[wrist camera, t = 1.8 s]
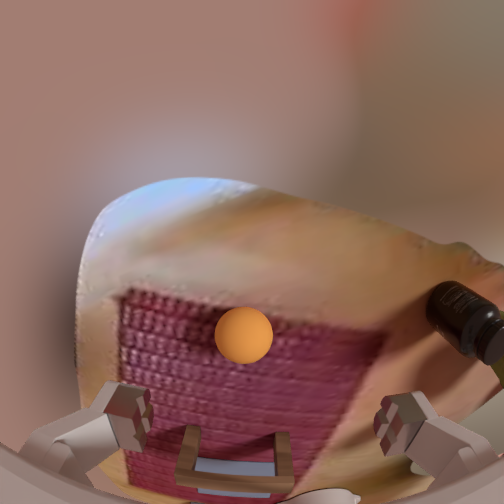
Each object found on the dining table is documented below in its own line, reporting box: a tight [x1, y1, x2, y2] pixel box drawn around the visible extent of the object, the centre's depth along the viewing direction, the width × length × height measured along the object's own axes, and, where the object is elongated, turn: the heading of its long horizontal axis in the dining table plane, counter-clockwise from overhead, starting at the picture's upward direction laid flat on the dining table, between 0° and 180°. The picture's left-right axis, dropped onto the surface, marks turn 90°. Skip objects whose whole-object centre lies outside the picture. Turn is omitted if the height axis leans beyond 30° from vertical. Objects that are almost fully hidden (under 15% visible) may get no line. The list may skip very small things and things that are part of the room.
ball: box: [215, 307, 273, 364], centre depth 30 cm, size 6×6×6 cm
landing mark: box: [195, 457, 275, 498], centre depth 40 cm, size 14×14×1 cm
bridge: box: [174, 425, 294, 493], centre depth 33 cm, size 3×15×10 cm, turn 86°
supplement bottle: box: [426, 281, 504, 365], centre depth 26 cm, size 7×7×12 cm
